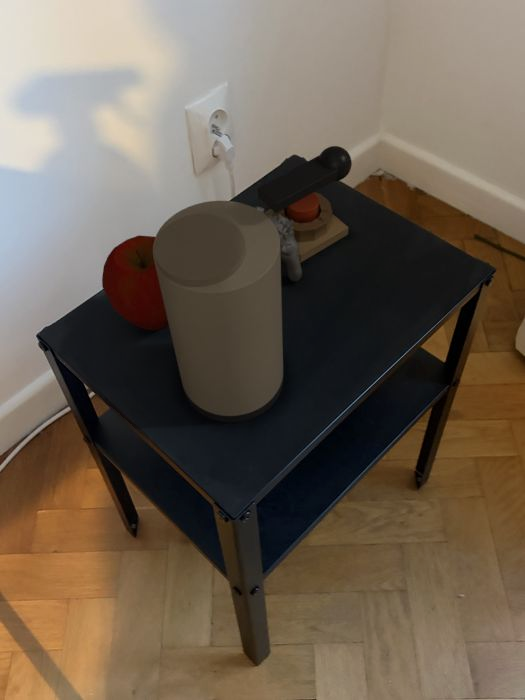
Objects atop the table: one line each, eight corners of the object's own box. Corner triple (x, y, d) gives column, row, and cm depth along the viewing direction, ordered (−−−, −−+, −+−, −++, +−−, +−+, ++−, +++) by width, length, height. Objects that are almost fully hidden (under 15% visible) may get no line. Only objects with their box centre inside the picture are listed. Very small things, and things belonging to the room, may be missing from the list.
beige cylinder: (303, 385, 72) (306, 243, 56) (220, 441, 68) (198, 307, 52) (244, 323, 76) (230, 176, 60) (163, 372, 73) (127, 230, 57)
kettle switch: (357, 178, 61) (359, 151, 58) (277, 223, 58) (277, 196, 56) (335, 161, 62) (337, 134, 60) (256, 204, 59) (255, 177, 57)
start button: (325, 213, 82) (325, 202, 80) (300, 228, 81) (300, 216, 79) (304, 197, 84) (305, 185, 82) (280, 210, 82) (279, 199, 81)
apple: (179, 280, 80) (165, 206, 72) (210, 334, 76) (199, 262, 67) (105, 308, 78) (82, 236, 70) (133, 365, 74) (111, 296, 65)
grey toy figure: (316, 269, 80) (318, 218, 74) (242, 335, 76) (238, 286, 69) (255, 231, 84) (251, 179, 78) (180, 291, 79) (171, 241, 73)
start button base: (348, 234, 84) (349, 215, 81) (300, 263, 81) (300, 244, 79) (304, 197, 87) (304, 178, 85) (257, 223, 85) (256, 204, 83)
